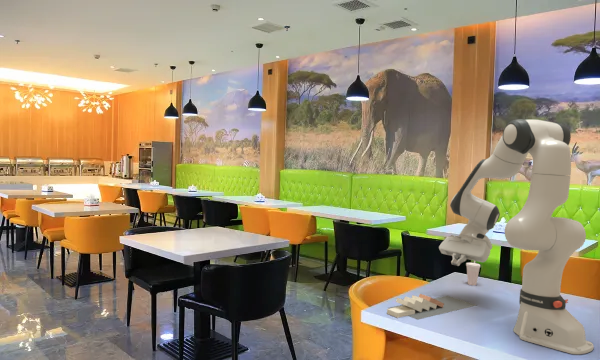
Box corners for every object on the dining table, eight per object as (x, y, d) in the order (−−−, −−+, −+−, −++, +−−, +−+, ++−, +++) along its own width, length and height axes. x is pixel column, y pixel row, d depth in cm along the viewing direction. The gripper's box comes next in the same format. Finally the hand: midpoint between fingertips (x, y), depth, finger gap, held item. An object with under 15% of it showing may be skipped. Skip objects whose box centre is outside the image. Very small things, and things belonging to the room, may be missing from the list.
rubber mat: (477, 306, 175) (477, 305, 175) (417, 321, 154) (417, 319, 154) (447, 297, 186) (447, 295, 186) (387, 309, 165) (387, 307, 165)
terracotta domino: (433, 299, 174) (419, 293, 169) (444, 303, 169) (430, 297, 165) (431, 303, 173) (418, 297, 168) (442, 307, 169) (429, 301, 164)
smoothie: (481, 286, 207) (483, 256, 207) (467, 285, 207) (469, 255, 207) (476, 283, 214) (478, 254, 213) (462, 282, 214) (464, 253, 213)
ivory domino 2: (411, 304, 166) (397, 297, 161) (422, 308, 162) (408, 301, 157) (410, 308, 166) (395, 301, 161) (421, 312, 162) (406, 305, 157)
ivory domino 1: (404, 305, 164) (387, 309, 159) (415, 309, 160) (397, 313, 155) (403, 309, 164) (386, 313, 159) (414, 313, 160) (397, 317, 155)
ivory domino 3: (419, 302, 169) (405, 296, 164) (430, 306, 165) (415, 299, 160) (417, 306, 168) (403, 300, 164) (428, 310, 164) (414, 304, 159)
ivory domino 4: (426, 301, 171) (412, 294, 166) (437, 305, 167) (423, 298, 162) (424, 305, 171) (411, 299, 166) (435, 309, 167) (421, 302, 162)
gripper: (445, 229, 189) (429, 254, 183) (491, 237, 172) (474, 264, 167) (451, 239, 192) (435, 264, 186) (496, 247, 175) (480, 275, 170)
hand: (454, 264), depth 176 cm, fingers closed
